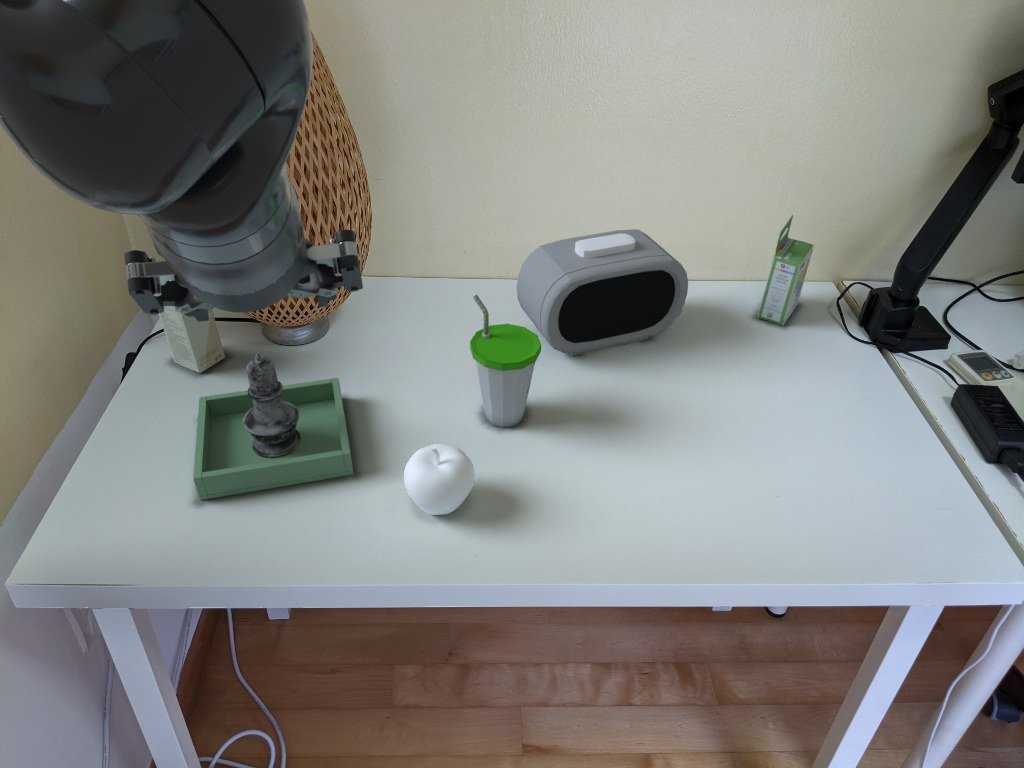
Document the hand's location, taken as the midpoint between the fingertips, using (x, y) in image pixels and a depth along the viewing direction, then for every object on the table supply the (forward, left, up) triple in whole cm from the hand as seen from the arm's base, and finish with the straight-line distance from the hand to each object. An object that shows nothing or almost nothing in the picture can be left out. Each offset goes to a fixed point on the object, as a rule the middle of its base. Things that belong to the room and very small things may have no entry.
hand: (262, 301), depth 57 cm
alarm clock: (+40, +29, -28) cm, 57 cm away
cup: (+23, +15, -28) cm, 40 cm away
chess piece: (-3, +16, -28) cm, 32 cm away
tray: (-3, +16, -28) cm, 33 cm away
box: (-12, +35, -28) cm, 47 cm away
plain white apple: (+13, +3, -28) cm, 31 cm away
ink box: (+67, +28, -28) cm, 78 cm away
